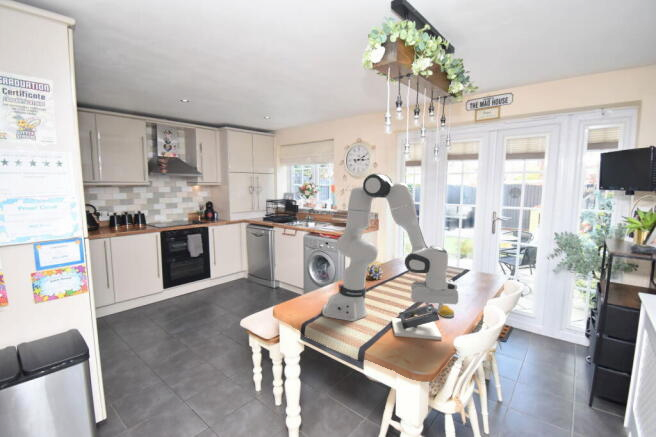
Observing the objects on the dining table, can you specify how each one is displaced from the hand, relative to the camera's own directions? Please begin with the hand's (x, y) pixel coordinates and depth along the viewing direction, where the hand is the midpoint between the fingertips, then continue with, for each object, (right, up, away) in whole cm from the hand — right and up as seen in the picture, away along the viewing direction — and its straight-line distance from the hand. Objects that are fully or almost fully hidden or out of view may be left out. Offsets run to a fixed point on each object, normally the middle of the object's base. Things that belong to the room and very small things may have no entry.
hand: (433, 311), depth 136 cm
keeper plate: (-8, -9, +2) cm, 12 cm away
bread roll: (+13, -8, +20) cm, 25 cm away
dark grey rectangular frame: (-6, -4, +1) cm, 7 cm away
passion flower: (-16, +1, +71) cm, 73 cm away
